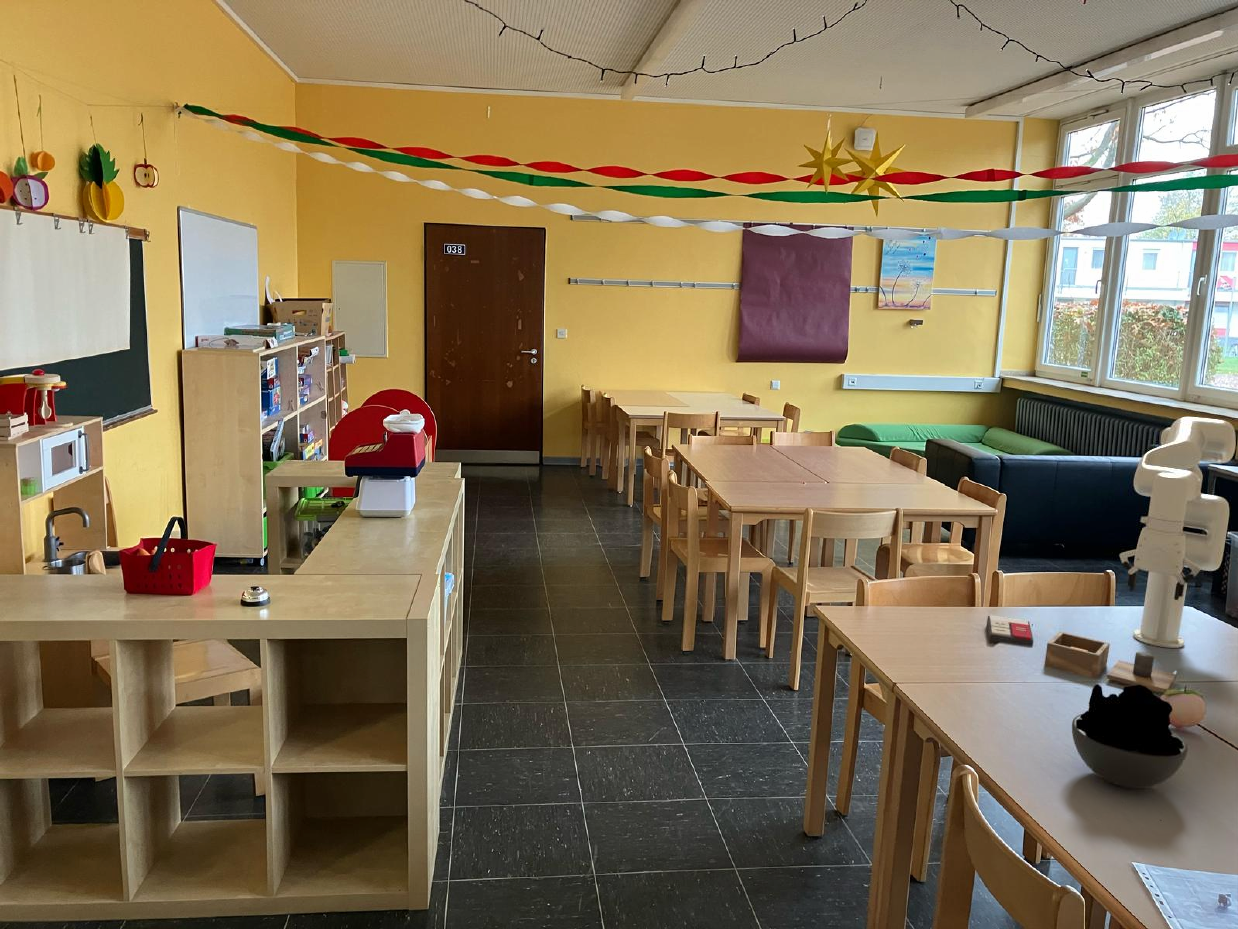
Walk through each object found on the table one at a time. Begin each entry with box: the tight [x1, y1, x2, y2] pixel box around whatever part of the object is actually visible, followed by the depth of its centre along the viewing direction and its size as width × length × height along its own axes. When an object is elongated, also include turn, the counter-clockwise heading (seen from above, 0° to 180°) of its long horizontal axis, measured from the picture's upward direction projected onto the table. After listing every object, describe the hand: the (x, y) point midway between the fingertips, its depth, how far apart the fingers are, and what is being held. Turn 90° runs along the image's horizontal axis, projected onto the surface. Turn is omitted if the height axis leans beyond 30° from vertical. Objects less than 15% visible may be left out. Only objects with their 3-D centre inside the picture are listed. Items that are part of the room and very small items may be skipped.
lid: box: [1106, 651, 1177, 693], centre depth 244 cm, size 13×13×7 cm
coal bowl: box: [1071, 683, 1189, 789], centre depth 193 cm, size 20×20×19 cm
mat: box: [1100, 670, 1181, 698], centre depth 244 cm, size 15×15×1 cm
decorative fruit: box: [1161, 685, 1207, 730], centre depth 219 cm, size 9×8×10 cm
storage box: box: [1044, 631, 1111, 680], centre depth 253 cm, size 12×12×7 cm
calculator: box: [985, 614, 1034, 647], centre depth 275 cm, size 11×4×15 cm
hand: (1154, 594), depth 241 cm, fingers open, 9 cm apart
